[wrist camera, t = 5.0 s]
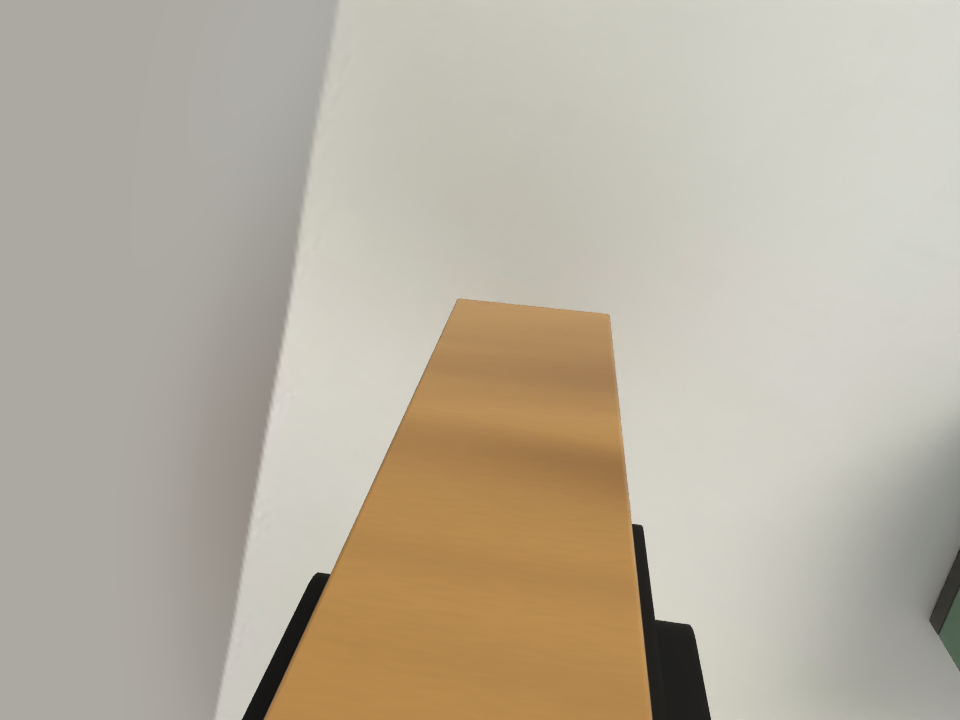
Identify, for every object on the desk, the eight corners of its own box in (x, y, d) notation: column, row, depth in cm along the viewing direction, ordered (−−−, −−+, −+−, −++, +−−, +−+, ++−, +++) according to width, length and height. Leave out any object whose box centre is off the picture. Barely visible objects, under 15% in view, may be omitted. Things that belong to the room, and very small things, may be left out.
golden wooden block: (457, 297, 11) (258, 724, 4) (610, 312, 11) (661, 788, 4) (439, 647, 14) (311, 1208, 7) (557, 665, 14) (535, 1259, 7)
